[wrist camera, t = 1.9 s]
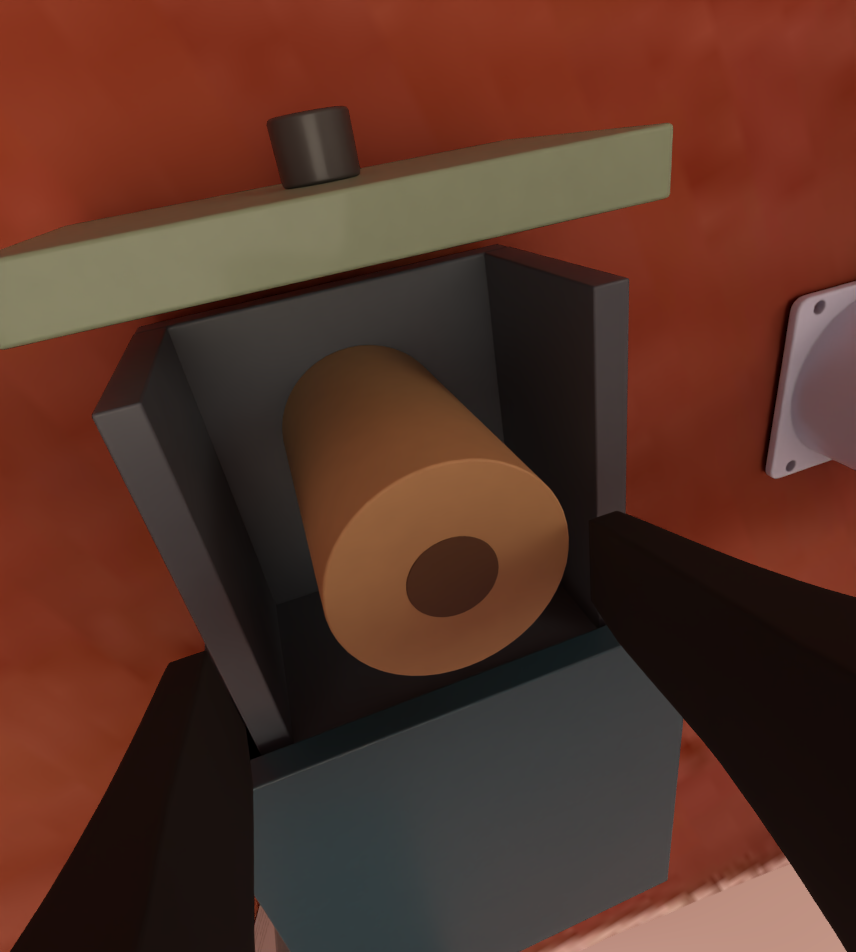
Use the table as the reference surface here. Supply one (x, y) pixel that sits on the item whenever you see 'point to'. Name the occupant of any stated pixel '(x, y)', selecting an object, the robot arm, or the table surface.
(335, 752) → the cabinet
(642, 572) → the robot arm
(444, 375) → the drawer
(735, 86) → the table surface
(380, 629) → the paper roll
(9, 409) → the table surface
